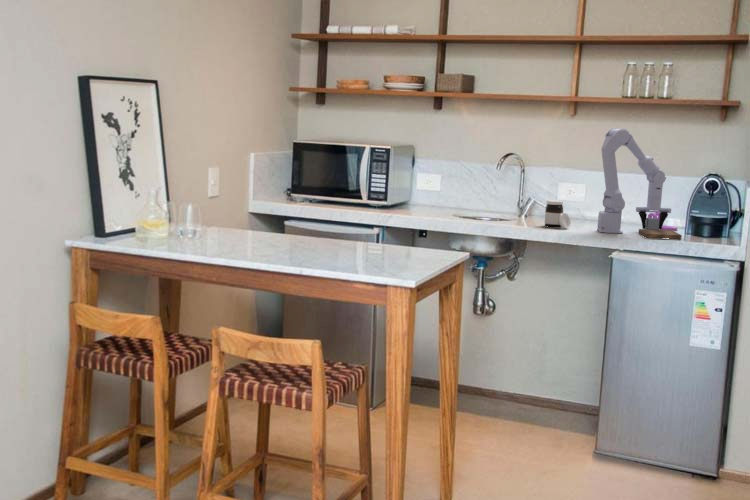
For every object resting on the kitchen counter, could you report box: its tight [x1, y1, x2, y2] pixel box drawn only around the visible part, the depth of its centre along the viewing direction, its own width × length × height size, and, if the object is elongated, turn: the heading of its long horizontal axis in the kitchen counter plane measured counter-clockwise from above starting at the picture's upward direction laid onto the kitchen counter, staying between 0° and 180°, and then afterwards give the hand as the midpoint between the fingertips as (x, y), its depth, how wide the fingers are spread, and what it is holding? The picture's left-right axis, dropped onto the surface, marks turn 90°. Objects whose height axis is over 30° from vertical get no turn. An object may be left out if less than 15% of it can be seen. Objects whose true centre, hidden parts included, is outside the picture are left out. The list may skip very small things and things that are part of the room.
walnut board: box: [638, 228, 682, 240], centre depth 355 cm, size 14×14×2 cm
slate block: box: [645, 217, 660, 230], centre depth 368 cm, size 4×4×6 cm
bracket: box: [647, 212, 678, 232], centre depth 379 cm, size 13×6×7 cm, turn 40°
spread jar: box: [544, 199, 572, 230], centre depth 374 cm, size 12×11×12 cm
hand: (651, 228), depth 368 cm, fingers open, 6 cm apart
